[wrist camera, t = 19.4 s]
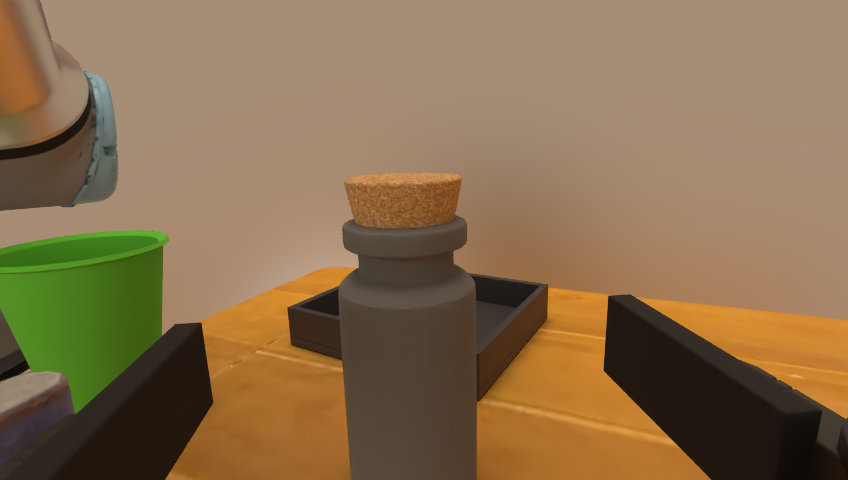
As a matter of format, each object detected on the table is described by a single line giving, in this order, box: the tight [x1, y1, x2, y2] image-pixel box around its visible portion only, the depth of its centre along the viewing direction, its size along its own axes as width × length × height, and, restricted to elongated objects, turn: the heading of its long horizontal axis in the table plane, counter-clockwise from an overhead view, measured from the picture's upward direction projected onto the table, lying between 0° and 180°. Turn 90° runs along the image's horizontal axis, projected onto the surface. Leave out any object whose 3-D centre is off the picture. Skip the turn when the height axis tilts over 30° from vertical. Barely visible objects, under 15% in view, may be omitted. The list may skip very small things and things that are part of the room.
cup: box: [0, 230, 169, 414], centre depth 27 cm, size 9×9×11 cm
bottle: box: [338, 173, 477, 480], centre depth 19 cm, size 6×6×15 cm
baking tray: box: [288, 273, 548, 401], centre depth 39 cm, size 17×15×3 cm
